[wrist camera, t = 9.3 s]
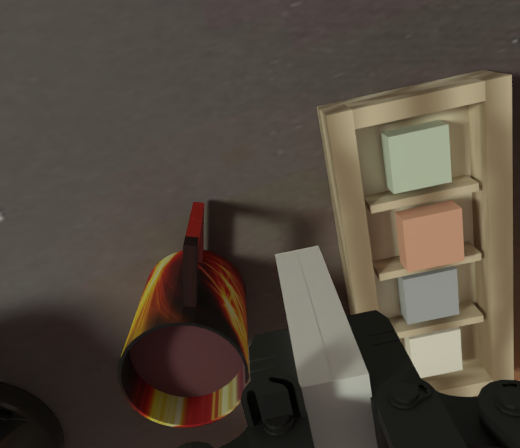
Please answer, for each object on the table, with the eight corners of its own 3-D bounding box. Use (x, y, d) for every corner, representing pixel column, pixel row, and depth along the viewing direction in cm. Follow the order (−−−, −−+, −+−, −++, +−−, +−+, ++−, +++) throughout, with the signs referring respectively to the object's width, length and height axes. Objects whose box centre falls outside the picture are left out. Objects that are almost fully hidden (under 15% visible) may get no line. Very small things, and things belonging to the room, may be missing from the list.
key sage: (386, 186, 41) (393, 194, 39) (380, 132, 40) (387, 137, 38) (442, 175, 41) (451, 181, 39) (438, 119, 39) (448, 124, 38)
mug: (203, 194, 43) (191, 252, 32) (261, 315, 48) (268, 403, 37) (105, 233, 44) (61, 303, 33) (172, 348, 49) (154, 443, 38)
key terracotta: (400, 261, 42) (407, 272, 40) (394, 211, 40) (402, 220, 39) (454, 250, 42) (464, 260, 40) (451, 199, 40) (461, 208, 38)
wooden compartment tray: (361, 384, 52) (372, 416, 47) (316, 106, 40) (326, 115, 36) (491, 359, 51) (513, 388, 47) (482, 69, 40) (511, 74, 36)
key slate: (400, 312, 46) (407, 324, 44) (396, 269, 44) (403, 280, 43) (450, 302, 46) (459, 314, 44) (447, 258, 44) (456, 268, 42)
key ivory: (407, 366, 49) (413, 379, 47) (402, 327, 47) (409, 339, 45) (453, 356, 49) (462, 369, 47) (451, 317, 47) (460, 329, 45)
